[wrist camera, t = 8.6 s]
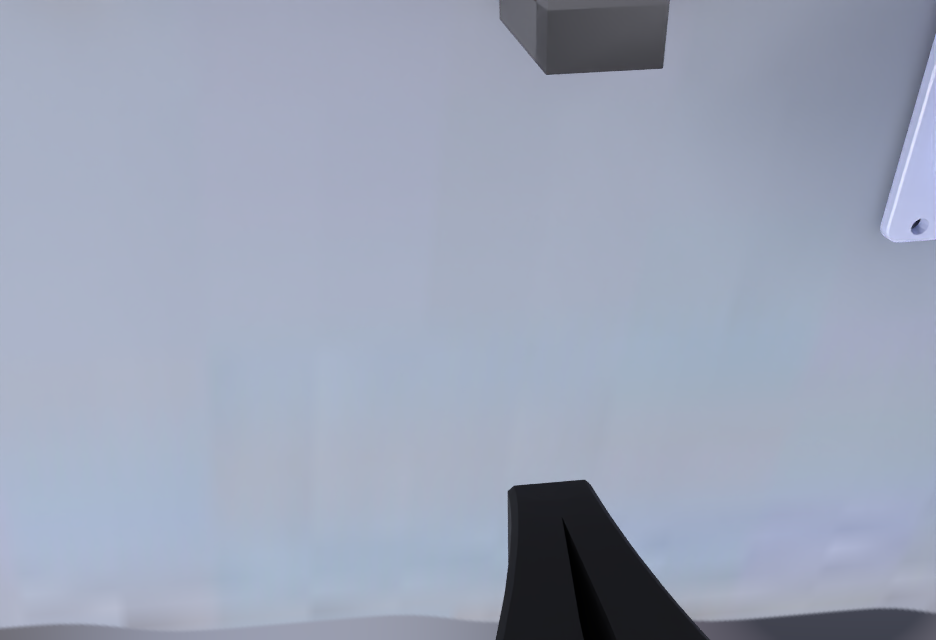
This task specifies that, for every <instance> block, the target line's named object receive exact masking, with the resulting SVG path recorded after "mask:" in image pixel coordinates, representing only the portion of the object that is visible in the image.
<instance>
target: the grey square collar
mask: <svg viewBox="0 0 936 640" xmlns="http://www.w3.org/2000/svg"><path fill="white" fill-rule="evenodd" d="M669 2H670V0H500V20H501V21H502V22H503V24H504V25H505V26H506V27H507V28H508V30H509V31H510V32H511V33H512V34H513V36H514V37H515V38H516V39H517V40H518V42H519V43H520V44H521V45H522V46H523V48H524V49H525V50H526V51H527V52H528V54H529V55H530V56H531V57H532V58H533V60H534V61H535V62H536V63H537V64H538V66H539V67H540V68H541V69H542V70H543V72H544V73H545V74H546V75H552V74H570V73H589V72H607V71H625V70H644V69H662V68H663V61H664V51H665V41H666V32H667V22H668V12H669Z"/></svg>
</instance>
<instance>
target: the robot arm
mask: <svg viewBox="0 0 936 640" xmlns="http://www.w3.org/2000/svg"><path fill="white" fill-rule="evenodd" d="M919 219H920V222H919V224H918V225H917V226H916V227H915V228H913V229H911V227H912V225H913V223H914V222H916V221H917V220H919ZM880 230H881V233H882V235H883V236H885V237H886V238H888V239H889V240H891V241H892V242H912V241H926V240H936V35H935V38H934V42H933V45H932V49H931V52H930V56H929V59H928V63H927V66H926V69H925V73H924V76H923V80H922V83H921V87H920V90H919V94H918V97H917V101H916V104H915V108H914V111H913V115H912V118H911V121H910V125H909V128H908V132H907V135H906V139H905V142H904V146H903V149H902V153H901V156H900V160H899V163H898V167H897V170H896V174H895V177H894V180H893V184H892V187H891V191H890V194H889V198H888V201H887V205H886V208H885V212H884V215H883V219H882V222H881V228H880ZM496 640H709V638H708V637H707V636H706V635H705V634H704V633H703V632H702V631H701V630H700V629H699V627H698V626H697V625H696V624H695V623H694V622H693V621H692V620H691V618H690V617H689V616H688V615H687V614H686V613H685V612H684V610H683V609H682V608H681V607H680V606H679V605H678V604H677V602H676V601H675V600H674V599H673V598H672V596H671V595H670V594H669V593H668V592H667V590H666V589H665V588H664V587H663V586H662V584H661V583H660V582H659V580H658V579H657V578H656V577H655V575H654V574H653V573H652V572H651V570H650V569H649V568H648V566H647V565H646V564H645V563H644V561H643V560H642V559H641V558H640V556H639V555H638V554H637V552H636V551H635V550H634V548H633V547H632V546H631V544H630V543H629V542H628V540H627V539H626V537H625V536H624V535H623V533H622V532H621V530H620V529H619V527H618V526H617V525H616V523H615V522H614V520H613V519H612V517H611V516H610V514H609V513H608V511H607V510H606V508H605V507H604V505H603V504H602V502H601V501H600V499H599V498H598V496H597V494H596V493H595V491H594V489H593V488H592V486H591V484H589V483H588V482H587V481H586V480H576V481H564V482H552V483H540V484H529V485H517V486H513V487H512V488H511V489H510V490H509V491H508V572H507V580H506V588H505V595H504V600H503V606H502V611H501V616H500V621H499V626H498V631H497V636H496Z"/></svg>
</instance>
